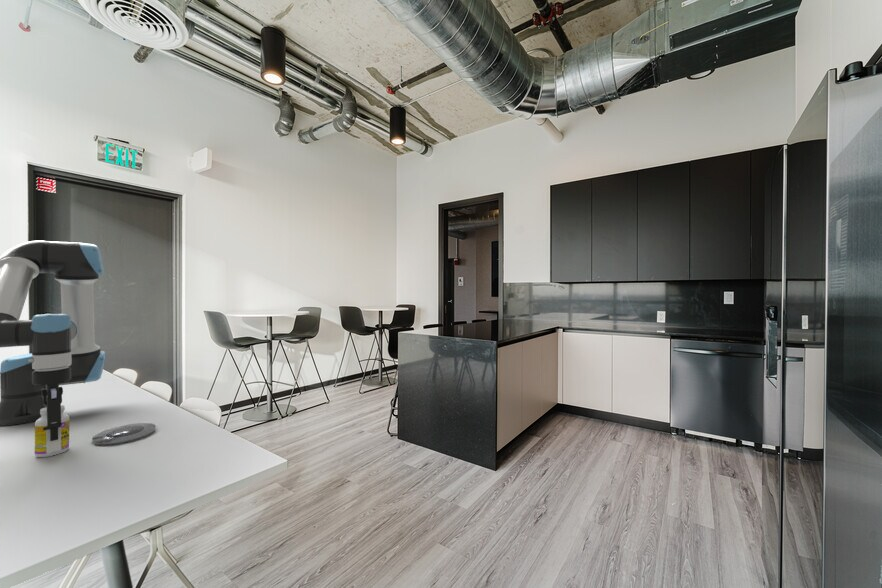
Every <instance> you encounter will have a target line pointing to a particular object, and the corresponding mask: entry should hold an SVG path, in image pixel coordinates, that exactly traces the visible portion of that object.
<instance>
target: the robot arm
mask: <svg viewBox="0 0 882 588" xmlns="http://www.w3.org/2000/svg"><path fill="white" fill-rule="evenodd" d="M103 261H104V260H103V257H102V252H101V250H100V248H99V246H97V245H96V244H93V243H85V242H73V241H71V242H69V241H52V240H51V241H50V240H31V241H26V242H23V243H20V244H17V245H16V246H12V247H11V248H9V249H8V250H7V251H5V252H4V253H2V255H1V256H0V348H9V347H10V348H11V347H26V346H27V347H29V346H30V347H31V352H30V353H26V354H20V355H19V354H18V355H15V356H12V357H7V358H5V359H3V360H2V361H1V362H0V426H3V427H4V426H12V425H22V424H27V423H32V422H36V420H38V419H39V418H41V414H40V410H41V409H42V408H46V407H47V427H43V431H44V430H46V453H51V452H56V451H60V450H61V426H62V423H61V404H62V402H63V393H64V388H63V386H67V385H76V384H86V383H93V382H97V381H99V380H101V378H102V374H103V371H104V365H105V360H106V351H104V350H101V346H100V345H98V344H97V343H96V340H95V338H96V337H95V301H94V300H95V299H94V298H95V297H94V294H95V293H94V283H95V282H97V281H99V276H101V275H104V274H105V273H104V271H105V269H104V268H105V267H104V262H103ZM39 274H53V275H54V276H53V277H54V280H55V281H57V282H58V283H59V284H60V302H61V313H46V314H43V313H41V314H35V315H33V316H32V318H31V319H30V320H29V319H23V320H20V319H21V315H22V312H23V309H24V306H25V303H26V300H27V296H28V293H29V290H30V288H31V284H32V282H33V281H32V280H33V279H35V278H37V276H38V275H39ZM53 422H57V423H53ZM51 423H52V424H51Z"/></svg>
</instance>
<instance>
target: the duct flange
mask: <svg viewBox="0 0 882 588" xmlns="http://www.w3.org/2000/svg"><path fill="white" fill-rule="evenodd" d="M155 430H157V426H156V424H154V423H152V422H151V423H150V422H140V423H139V422H138V423H131V424H130V423H129V424H125V425H121V426H115V427H112V428H110V429H109V428H108V429H105V430H103V431H101V432H98V433H97V434H95V435H93V436H92V438H91V439H92V441H91V443H92V444H93V445H94V446H99V447H100V446H102V447H105V446H116V445H121V444H127V443H132V442H134V441H135V442H136V441H138V440H141V439H144V438H147V437H149V436H151V435H152V434H154V433H155V432H156V431H155ZM153 432H154V433H153Z"/></svg>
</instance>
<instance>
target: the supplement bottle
mask: <svg viewBox="0 0 882 588" xmlns="http://www.w3.org/2000/svg"><path fill="white" fill-rule="evenodd" d="M65 409H66V407H65V405H61V423H62V426H61V450H60V451H56V452H51V453H46V430H44V431H43V427H47V407H46V408H42V409H41V410H40V414H41V418H39V419H38V420H36V421H34V456H35V457H36V458H47V457H53V455H54V456H57V455H60V454H63V453H65V452H66V451H68V450H69V449H70V416H69V415H68V414H66V413H64V412H65ZM53 423H57V422H53ZM51 424H52V423H51Z"/></svg>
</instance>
